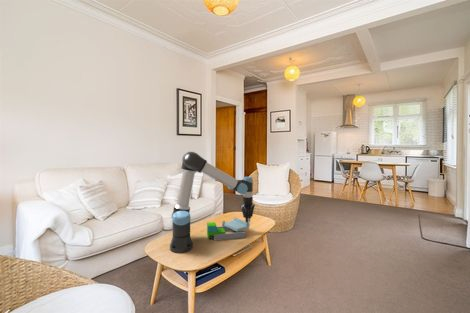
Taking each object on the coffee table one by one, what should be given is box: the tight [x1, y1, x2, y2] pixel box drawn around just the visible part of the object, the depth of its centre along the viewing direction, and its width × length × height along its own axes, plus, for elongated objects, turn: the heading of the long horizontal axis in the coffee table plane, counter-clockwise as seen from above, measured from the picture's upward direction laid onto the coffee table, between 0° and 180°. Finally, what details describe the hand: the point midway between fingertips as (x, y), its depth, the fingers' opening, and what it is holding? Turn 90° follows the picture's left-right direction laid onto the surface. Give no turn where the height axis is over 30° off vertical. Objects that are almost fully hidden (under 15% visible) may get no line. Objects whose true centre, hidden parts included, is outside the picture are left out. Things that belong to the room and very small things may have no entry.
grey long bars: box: [213, 225, 247, 241], centre depth 175 cm, size 24×16×4 cm
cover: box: [221, 217, 250, 233], centre depth 181 cm, size 13×19×8 cm
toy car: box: [206, 221, 227, 240], centre depth 171 cm, size 10×13×10 cm
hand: (247, 226), depth 180 cm, fingers closed
